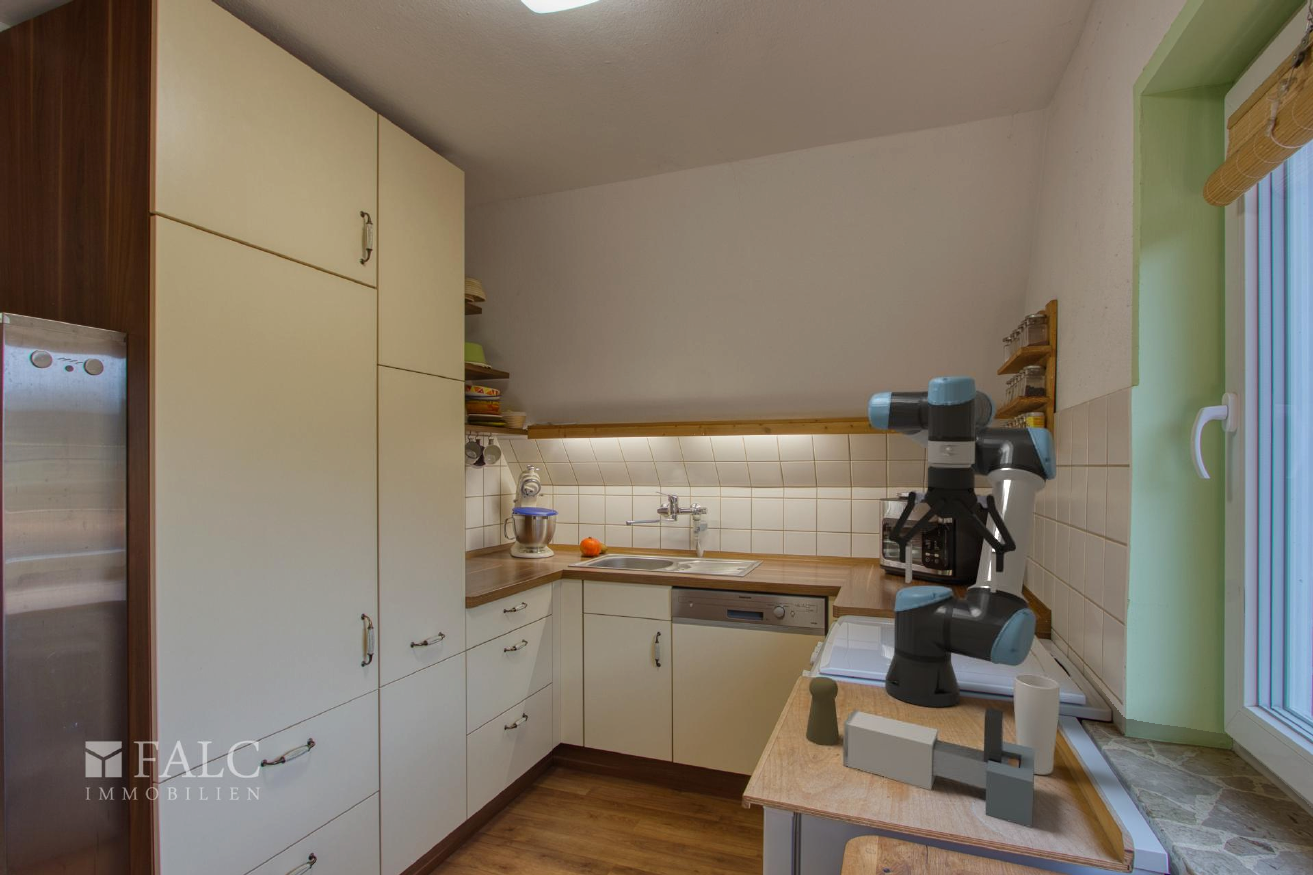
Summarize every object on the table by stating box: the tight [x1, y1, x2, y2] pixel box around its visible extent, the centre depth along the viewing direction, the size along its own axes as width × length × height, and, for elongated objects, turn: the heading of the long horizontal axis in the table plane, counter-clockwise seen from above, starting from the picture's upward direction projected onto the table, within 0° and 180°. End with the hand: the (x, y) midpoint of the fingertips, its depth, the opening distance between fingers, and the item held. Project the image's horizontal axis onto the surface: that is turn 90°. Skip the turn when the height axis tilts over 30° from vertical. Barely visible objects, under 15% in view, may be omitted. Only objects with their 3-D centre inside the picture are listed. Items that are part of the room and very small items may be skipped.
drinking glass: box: [1013, 673, 1061, 776], centre depth 112 cm, size 7×7×15 cm
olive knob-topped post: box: [805, 676, 840, 746], centre depth 122 cm, size 6×6×11 cm
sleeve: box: [842, 709, 939, 791], centre depth 111 cm, size 6×14×7 cm, turn 59°
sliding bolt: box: [932, 707, 1019, 789], centre depth 105 cm, size 4×18×11 cm, turn 59°
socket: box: [985, 741, 1035, 827], centre depth 101 cm, size 12×6×7 cm, turn 149°
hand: (949, 585), depth 115 cm, fingers open, 13 cm apart
